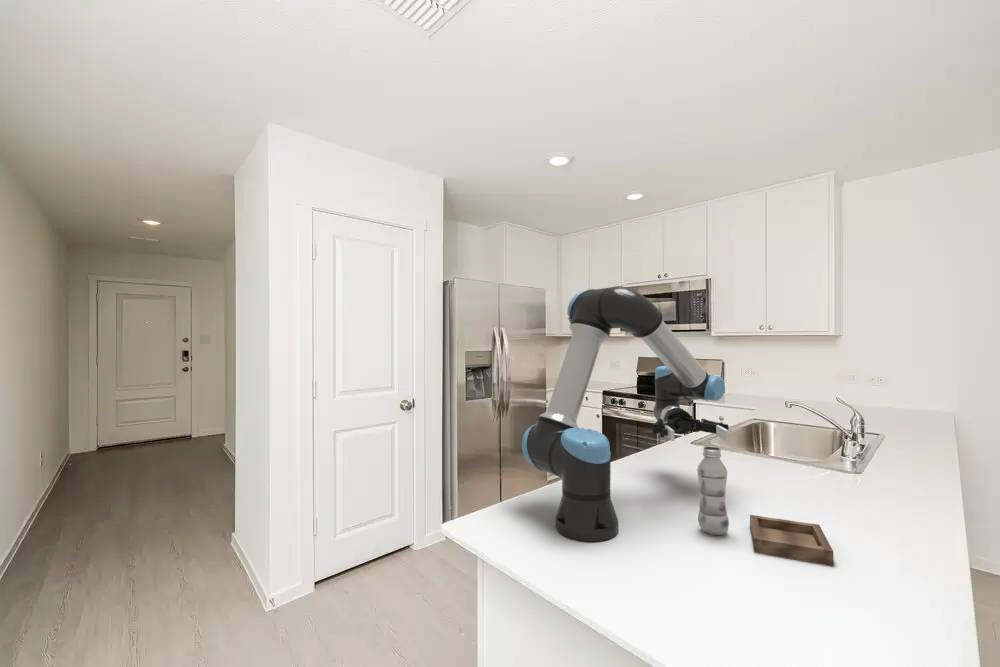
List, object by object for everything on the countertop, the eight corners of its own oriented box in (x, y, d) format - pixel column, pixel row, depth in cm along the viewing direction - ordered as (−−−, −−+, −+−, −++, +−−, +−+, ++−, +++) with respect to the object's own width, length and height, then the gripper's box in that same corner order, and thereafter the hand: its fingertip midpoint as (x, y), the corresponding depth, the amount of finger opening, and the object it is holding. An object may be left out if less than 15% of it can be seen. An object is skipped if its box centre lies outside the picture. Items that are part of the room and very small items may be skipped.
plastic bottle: (734, 538, 103) (733, 451, 103) (705, 538, 103) (703, 452, 103) (721, 526, 109) (720, 445, 109) (693, 526, 109) (692, 445, 110)
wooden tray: (754, 552, 96) (753, 538, 96) (749, 527, 109) (749, 514, 109) (833, 566, 90) (833, 551, 90) (819, 537, 103) (819, 524, 103)
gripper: (718, 431, 136) (750, 450, 115) (635, 432, 139) (650, 450, 118) (718, 407, 136) (749, 421, 115) (634, 407, 139) (650, 421, 118)
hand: (699, 435), depth 116 cm, fingers open, 13 cm apart
